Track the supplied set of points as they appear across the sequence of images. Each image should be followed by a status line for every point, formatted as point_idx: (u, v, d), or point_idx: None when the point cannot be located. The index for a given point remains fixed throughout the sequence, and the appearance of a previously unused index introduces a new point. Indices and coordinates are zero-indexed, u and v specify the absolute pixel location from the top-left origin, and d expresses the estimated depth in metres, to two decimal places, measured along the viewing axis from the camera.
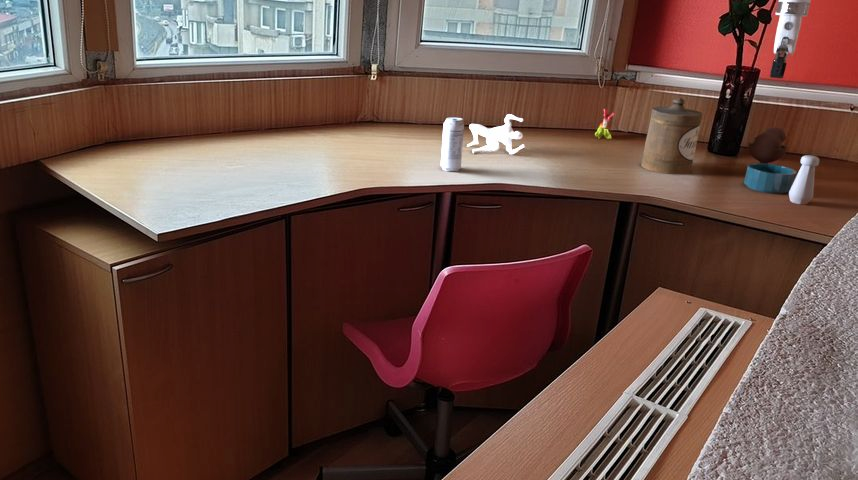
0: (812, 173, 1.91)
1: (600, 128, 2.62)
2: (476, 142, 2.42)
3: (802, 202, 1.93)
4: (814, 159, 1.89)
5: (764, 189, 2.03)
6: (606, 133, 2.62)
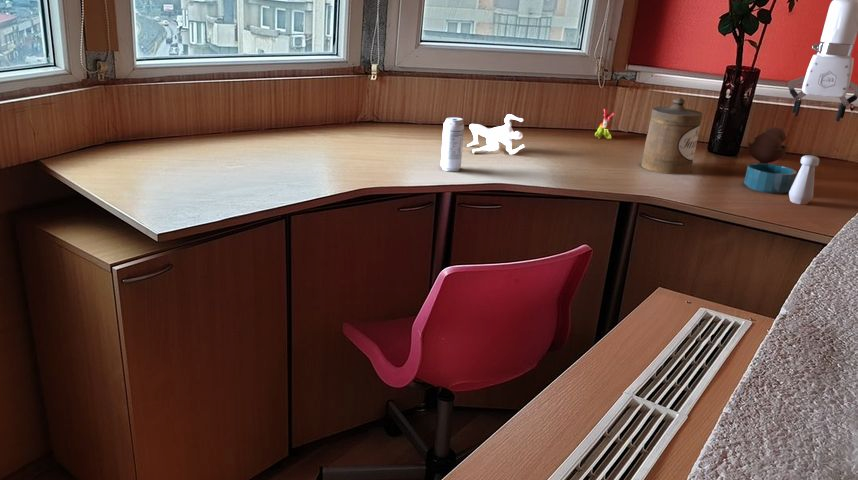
0: (812, 173, 1.91)
1: (600, 128, 2.62)
2: (476, 142, 2.42)
3: (802, 202, 1.93)
4: (814, 159, 1.89)
5: (764, 189, 2.03)
6: (606, 133, 2.62)
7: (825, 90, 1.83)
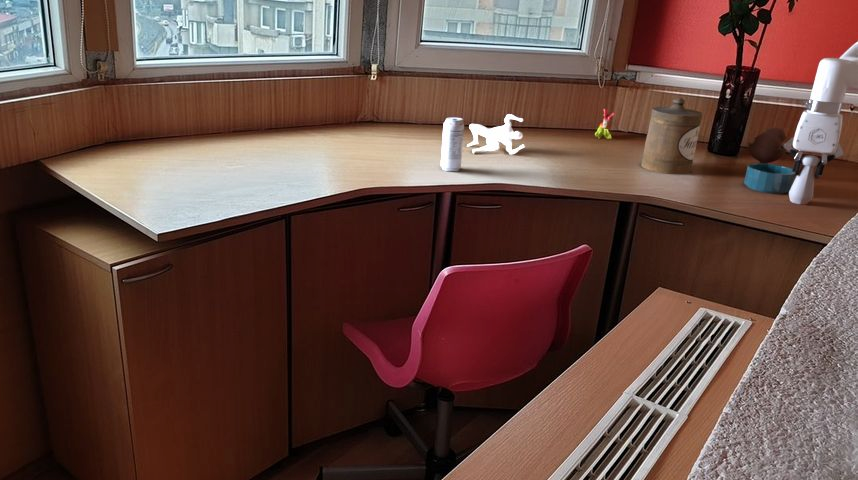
0: (812, 173, 1.91)
1: (600, 128, 2.62)
2: (476, 142, 2.42)
3: (802, 202, 1.93)
4: (814, 159, 1.89)
5: (764, 189, 2.03)
6: (606, 133, 2.62)
7: (815, 146, 1.87)
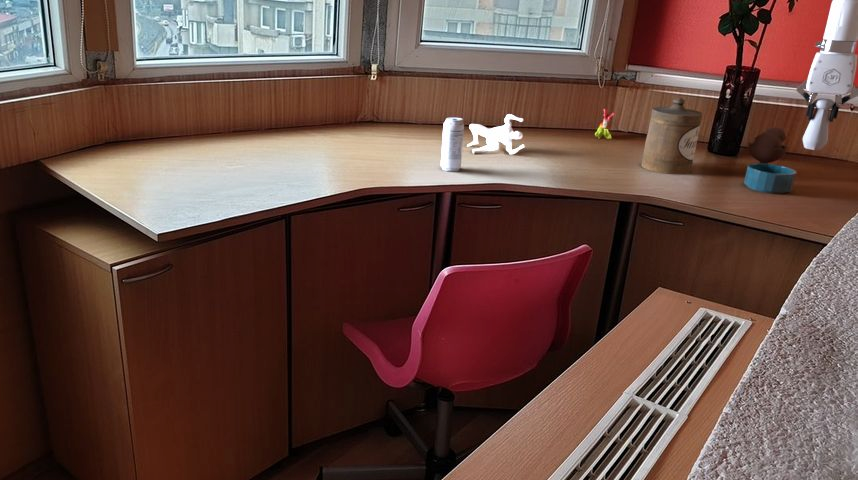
0: (826, 116, 1.86)
1: (600, 128, 2.62)
2: (476, 142, 2.42)
3: (816, 147, 1.89)
4: (828, 102, 1.85)
5: (764, 189, 2.03)
6: (606, 133, 2.62)
7: (829, 87, 1.82)
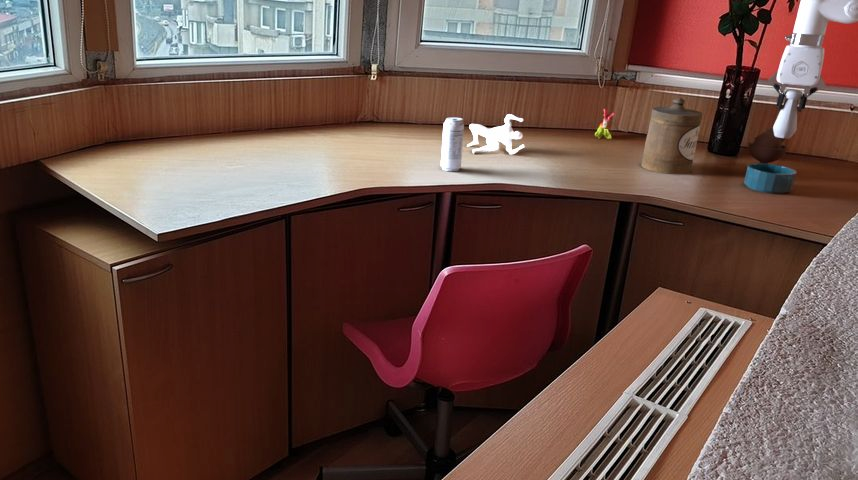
0: (795, 106, 1.97)
1: (600, 128, 2.62)
2: (476, 142, 2.42)
3: (786, 135, 1.99)
4: (797, 92, 1.95)
5: (764, 189, 2.03)
6: (606, 133, 2.62)
7: (798, 79, 1.93)
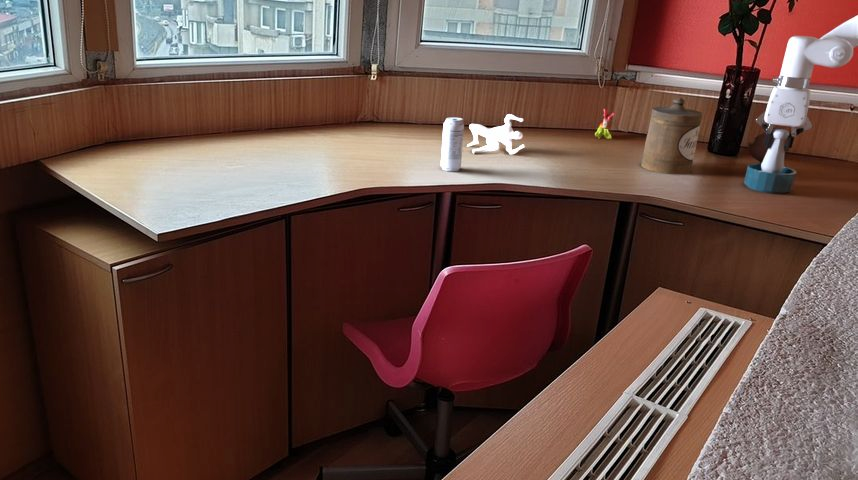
0: (782, 146, 2.02)
1: (600, 128, 2.62)
2: (476, 142, 2.42)
3: None
4: (784, 132, 2.00)
5: (764, 189, 2.03)
6: (606, 133, 2.62)
7: (785, 120, 1.98)
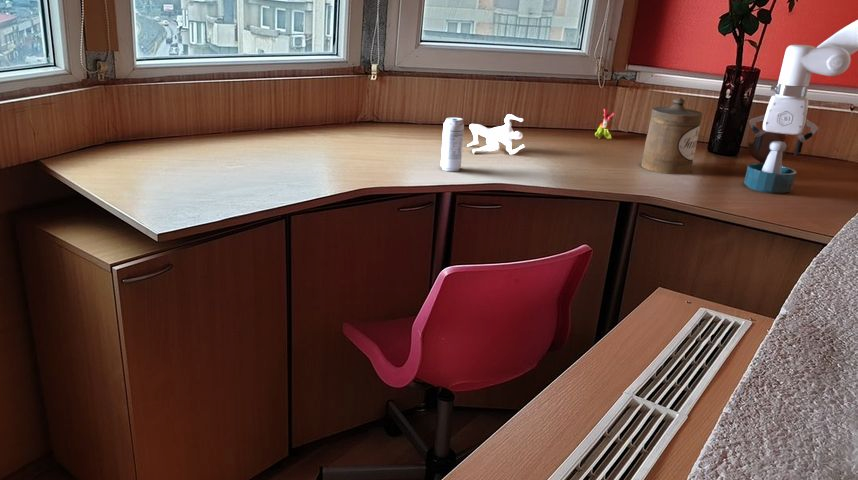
0: (780, 158, 2.03)
1: (600, 128, 2.62)
2: (476, 142, 2.42)
3: None
4: (781, 144, 2.01)
5: (764, 189, 2.03)
6: (606, 133, 2.62)
7: (783, 128, 1.99)
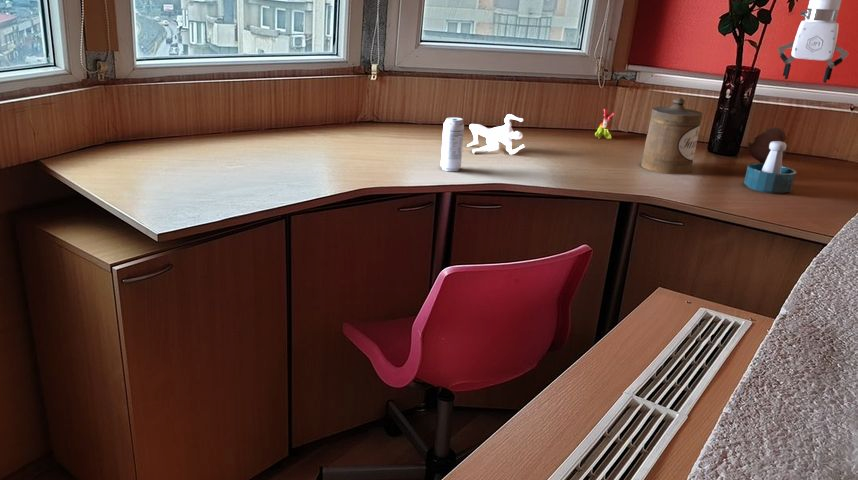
0: (780, 158, 2.03)
1: (600, 128, 2.62)
2: (476, 142, 2.42)
3: None
4: (781, 144, 2.01)
5: (764, 189, 2.03)
6: (606, 133, 2.62)
7: (813, 53, 1.97)
